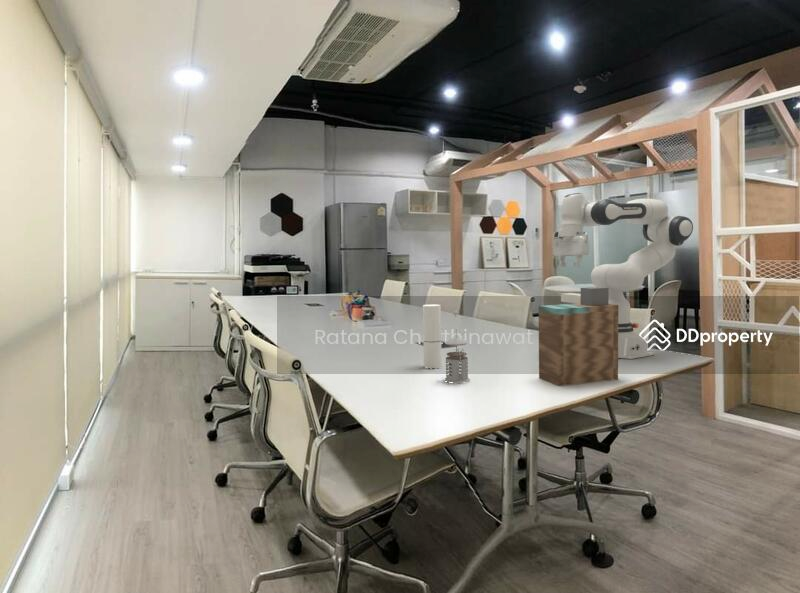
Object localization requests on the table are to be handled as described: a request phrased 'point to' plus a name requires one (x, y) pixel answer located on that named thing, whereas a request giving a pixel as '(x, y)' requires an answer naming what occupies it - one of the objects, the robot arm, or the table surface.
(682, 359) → the table surface
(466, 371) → the french press
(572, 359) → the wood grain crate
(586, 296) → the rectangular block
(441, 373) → the table surface
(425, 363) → the cylindrical container
